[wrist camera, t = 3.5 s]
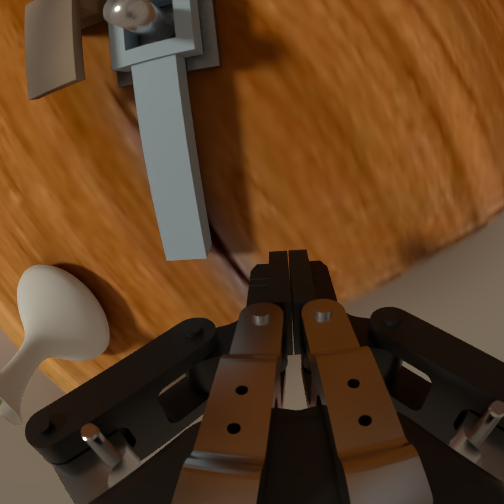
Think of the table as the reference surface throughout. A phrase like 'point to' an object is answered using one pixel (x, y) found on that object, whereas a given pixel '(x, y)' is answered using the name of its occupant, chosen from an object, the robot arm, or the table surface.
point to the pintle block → (164, 30)
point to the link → (168, 128)
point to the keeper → (57, 42)
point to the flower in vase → (51, 330)
